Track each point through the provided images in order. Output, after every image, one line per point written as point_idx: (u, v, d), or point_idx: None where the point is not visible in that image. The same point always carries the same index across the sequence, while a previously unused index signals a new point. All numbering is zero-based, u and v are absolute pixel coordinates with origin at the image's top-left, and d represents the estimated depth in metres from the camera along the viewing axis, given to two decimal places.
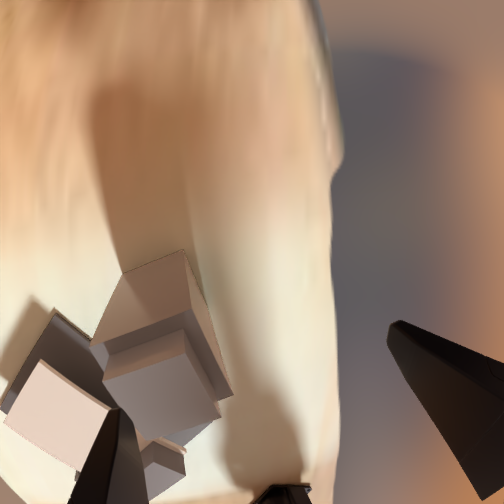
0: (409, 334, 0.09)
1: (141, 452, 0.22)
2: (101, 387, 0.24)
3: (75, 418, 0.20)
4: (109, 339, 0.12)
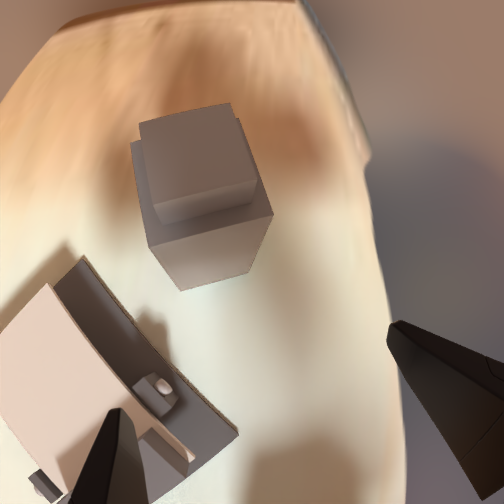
0: (409, 334, 0.09)
1: None
2: (105, 358, 0.20)
3: (59, 371, 0.16)
4: None
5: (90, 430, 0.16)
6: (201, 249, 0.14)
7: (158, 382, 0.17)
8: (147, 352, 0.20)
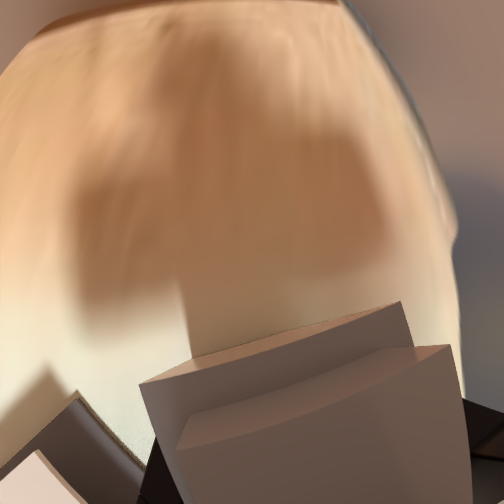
0: None
1: None
2: None
3: None
4: (202, 369, 0.05)
5: None
6: None
7: None
8: None
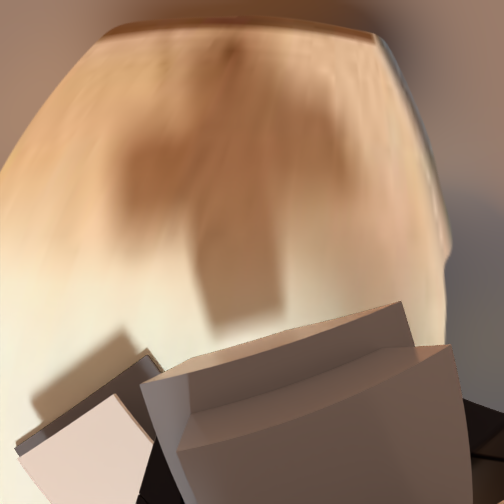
0: None
1: None
2: None
3: (131, 482, 0.14)
4: (202, 368, 0.05)
5: None
6: None
7: None
8: None
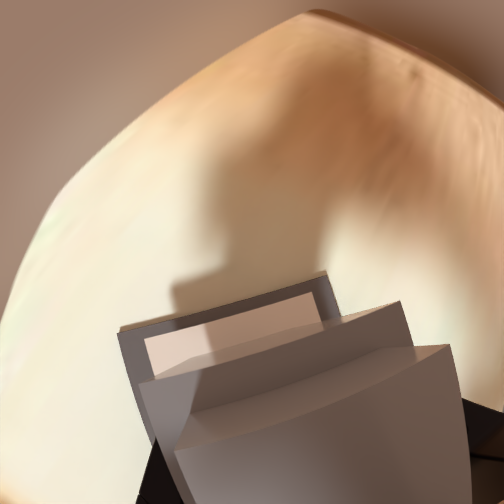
0: None
1: None
2: None
3: None
4: (201, 368, 0.05)
5: None
6: None
7: None
8: None
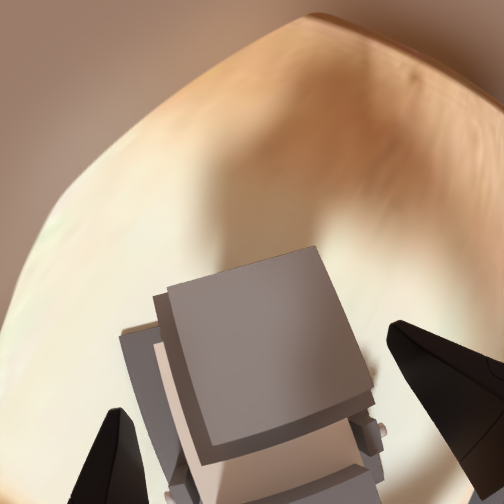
0: (409, 334, 0.09)
1: (328, 475, 0.15)
2: None
3: None
4: None
5: (291, 454, 0.16)
6: None
7: (380, 426, 0.17)
8: None
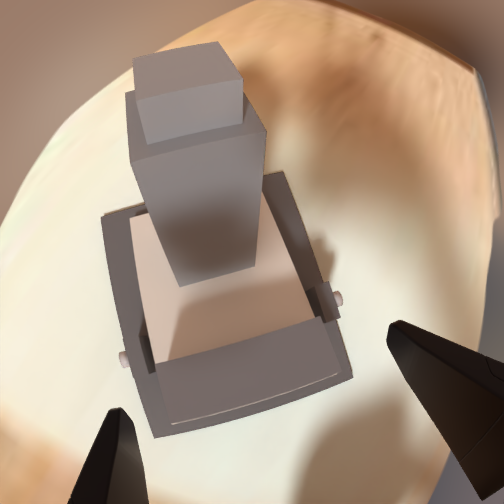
0: (409, 334, 0.09)
1: None
2: None
3: None
4: None
5: (244, 312, 0.19)
6: (191, 186, 0.12)
7: (335, 292, 0.20)
8: (313, 271, 0.23)
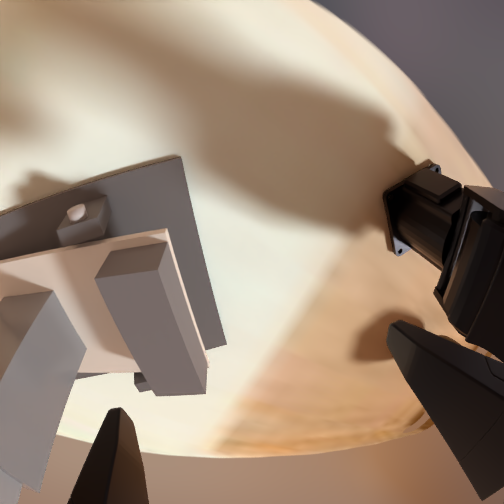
0: (409, 334, 0.09)
1: None
2: (44, 250, 0.18)
3: None
4: None
5: (99, 307, 0.17)
6: (25, 443, 0.10)
7: (68, 216, 0.14)
8: (51, 205, 0.16)
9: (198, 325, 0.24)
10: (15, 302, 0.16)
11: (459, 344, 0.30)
